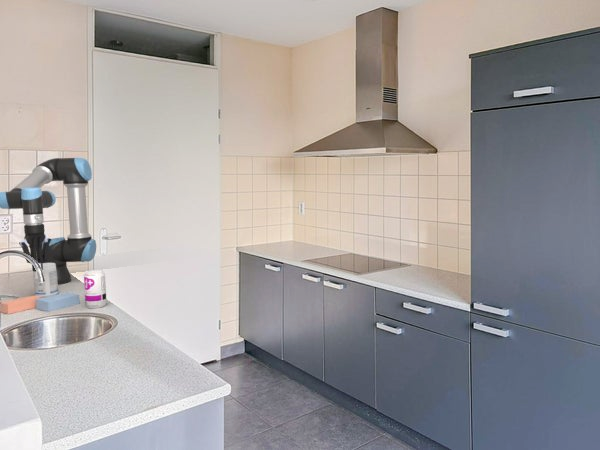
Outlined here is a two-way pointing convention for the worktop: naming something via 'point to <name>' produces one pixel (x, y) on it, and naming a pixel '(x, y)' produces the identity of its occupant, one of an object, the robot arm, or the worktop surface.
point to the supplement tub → (47, 281)
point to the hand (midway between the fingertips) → (38, 278)
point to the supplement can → (95, 289)
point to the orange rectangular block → (19, 304)
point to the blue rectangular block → (57, 301)
